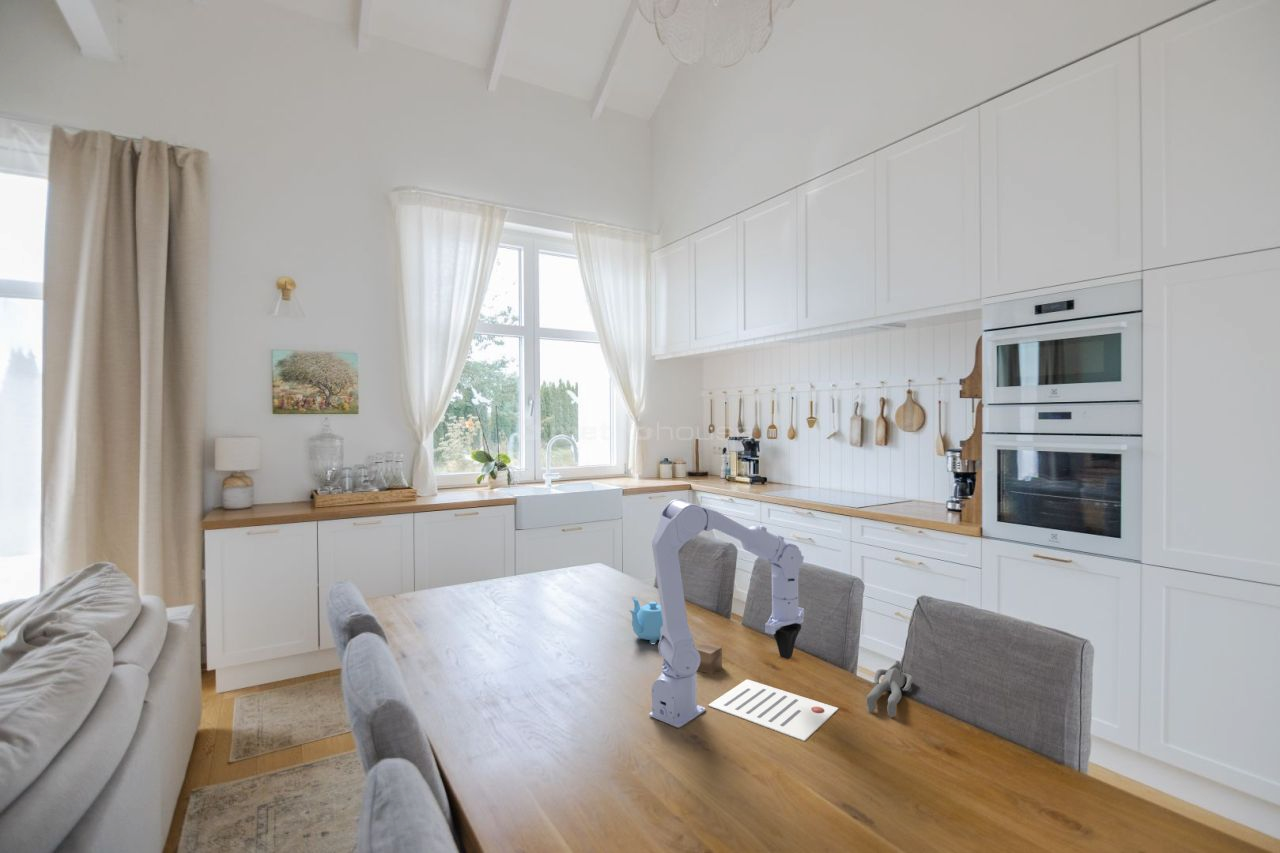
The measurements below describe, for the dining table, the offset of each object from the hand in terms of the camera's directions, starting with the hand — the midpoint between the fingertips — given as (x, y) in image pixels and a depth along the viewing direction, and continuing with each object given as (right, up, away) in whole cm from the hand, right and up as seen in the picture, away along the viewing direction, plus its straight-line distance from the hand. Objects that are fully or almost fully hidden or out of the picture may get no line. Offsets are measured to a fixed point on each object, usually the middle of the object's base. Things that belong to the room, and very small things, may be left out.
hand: (785, 657), depth 131 cm
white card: (-4, -9, -5) cm, 11 cm away
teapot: (-28, -9, +35) cm, 46 cm away
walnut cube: (-16, -9, +15) cm, 23 cm away
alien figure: (+24, -4, +1) cm, 24 cm away
